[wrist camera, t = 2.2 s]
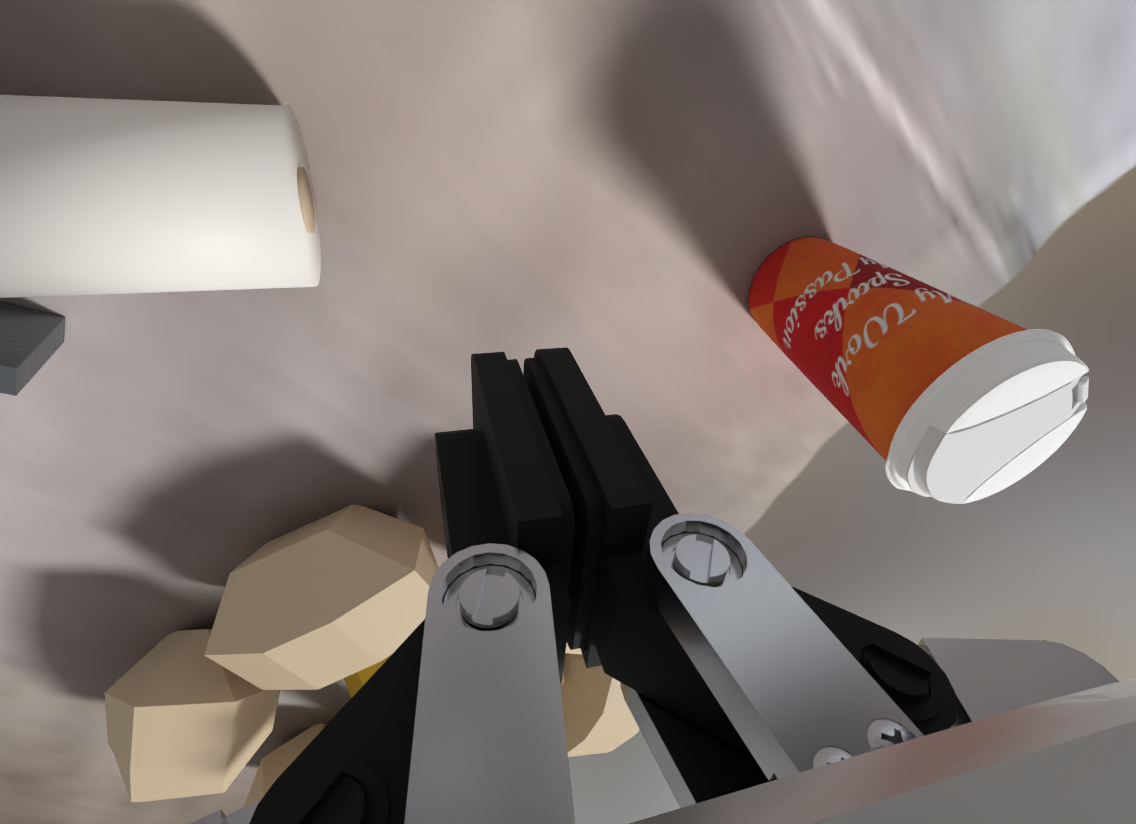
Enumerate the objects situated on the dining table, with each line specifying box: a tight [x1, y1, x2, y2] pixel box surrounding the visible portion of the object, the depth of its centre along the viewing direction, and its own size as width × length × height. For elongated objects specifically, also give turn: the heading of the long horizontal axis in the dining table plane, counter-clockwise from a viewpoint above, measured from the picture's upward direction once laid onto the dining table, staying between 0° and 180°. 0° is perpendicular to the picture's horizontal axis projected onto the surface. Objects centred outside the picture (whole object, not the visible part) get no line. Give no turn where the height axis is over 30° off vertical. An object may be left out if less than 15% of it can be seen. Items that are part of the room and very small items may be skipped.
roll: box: [0, 95, 321, 298], centre depth 19 cm, size 10×6×6 cm, turn 85°
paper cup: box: [748, 237, 1089, 504], centre depth 26 cm, size 8×8×14 cm
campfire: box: [105, 504, 639, 807], centre depth 36 cm, size 35×34×17 cm
